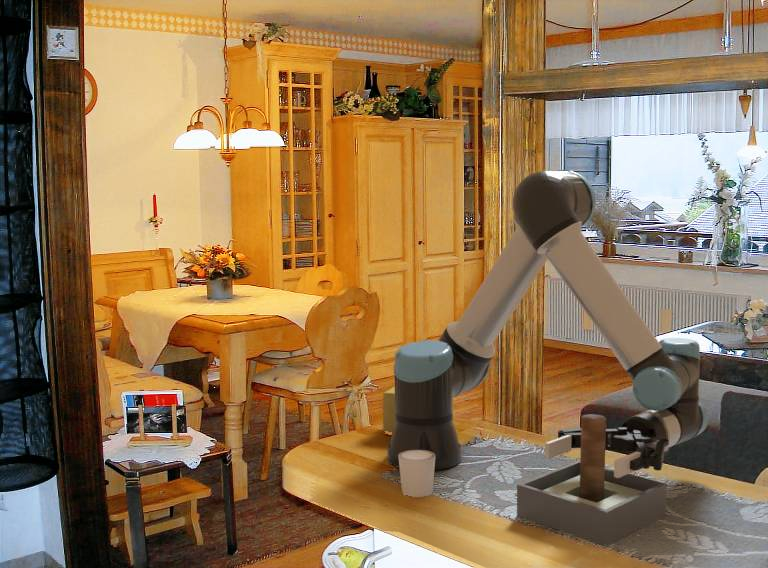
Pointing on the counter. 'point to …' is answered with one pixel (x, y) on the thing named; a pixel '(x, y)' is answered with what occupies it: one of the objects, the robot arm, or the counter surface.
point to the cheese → (389, 410)
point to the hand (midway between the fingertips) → (580, 459)
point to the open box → (591, 504)
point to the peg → (592, 457)
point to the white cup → (417, 472)
